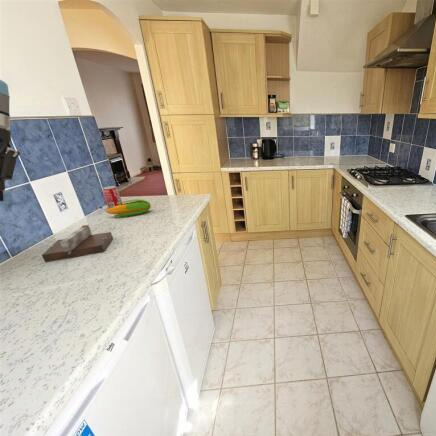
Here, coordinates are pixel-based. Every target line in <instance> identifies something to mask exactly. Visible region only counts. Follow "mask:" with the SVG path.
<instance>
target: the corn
mask: <svg viewBox="0 0 436 436" xmlns="http://www.w3.org/2000/svg"><path fill="white" fill-rule="evenodd" d="M120 203H122V204H121V205H118V206H115V207H112V208H108V209H106V211H105V212H106V213H107V214H109V215H113V217H114V218H115V217H116V218H119V217H120V218H121V217H122V218H123V217H130V216H136V215H137V216H138V215H143V214H145V213H147V212H148V211H149V210H150V209H151V203H150V202H149V201H147V200H145V199H131V200H125V201H122V202H120ZM117 204H119V203H117Z"/></svg>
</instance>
